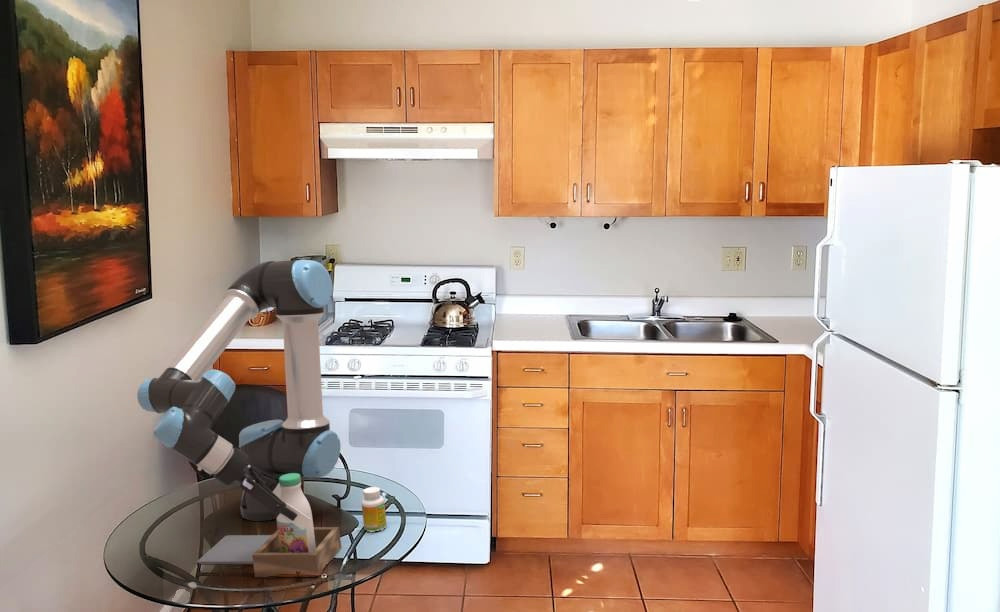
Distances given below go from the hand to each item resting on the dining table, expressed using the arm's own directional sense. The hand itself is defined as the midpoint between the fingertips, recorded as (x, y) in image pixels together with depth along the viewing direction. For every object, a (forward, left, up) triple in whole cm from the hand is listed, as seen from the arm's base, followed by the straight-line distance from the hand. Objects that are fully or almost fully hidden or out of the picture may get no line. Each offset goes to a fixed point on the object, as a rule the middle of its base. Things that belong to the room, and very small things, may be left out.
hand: (302, 513), depth 187 cm
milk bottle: (+1, -2, -11) cm, 11 cm away
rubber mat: (-5, -19, -11) cm, 22 cm away
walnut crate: (+1, -2, -11) cm, 11 cm away
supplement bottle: (-17, +10, -11) cm, 23 cm away
